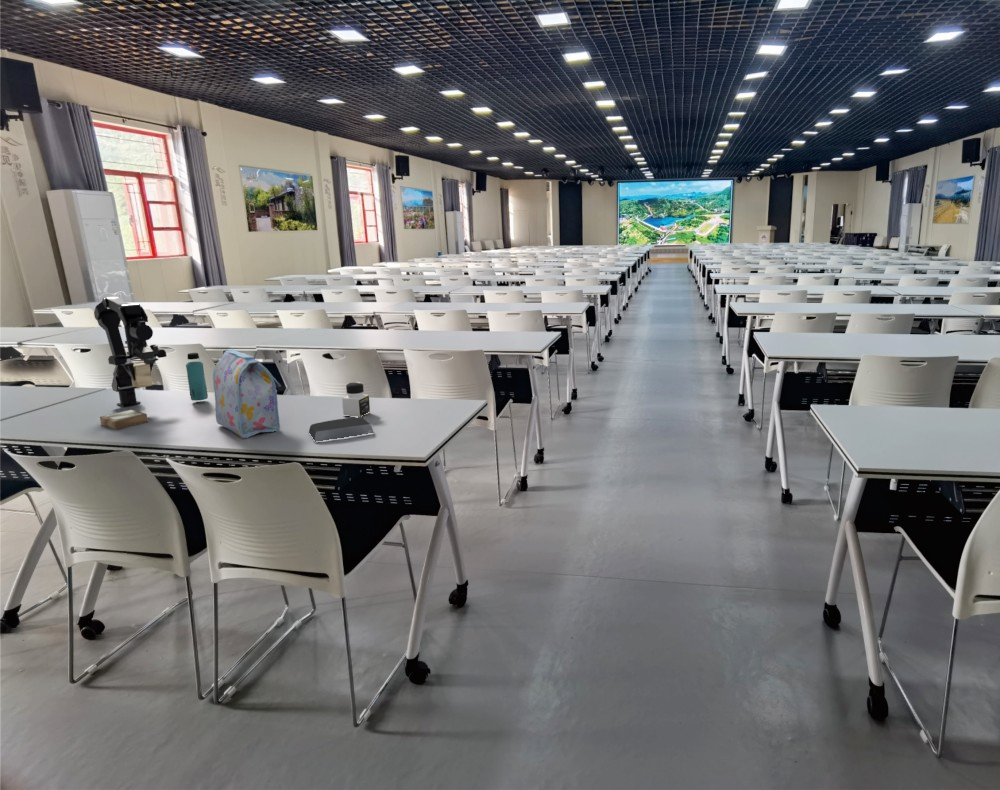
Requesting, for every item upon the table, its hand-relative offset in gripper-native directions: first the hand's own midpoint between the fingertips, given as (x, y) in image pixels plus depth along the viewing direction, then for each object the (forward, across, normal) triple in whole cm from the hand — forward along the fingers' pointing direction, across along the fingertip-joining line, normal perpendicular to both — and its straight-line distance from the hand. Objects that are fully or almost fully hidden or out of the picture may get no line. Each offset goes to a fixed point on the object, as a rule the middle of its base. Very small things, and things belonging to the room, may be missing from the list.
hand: (141, 379), depth 244 cm
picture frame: (+13, -12, -8) cm, 19 cm away
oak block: (+2, 0, 0) cm, 2 cm away
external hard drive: (+14, +22, -84) cm, 88 cm away
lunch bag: (+13, +9, -53) cm, 55 cm away
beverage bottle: (+13, +19, -4) cm, 23 cm away
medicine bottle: (+13, +40, -72) cm, 83 cm away
